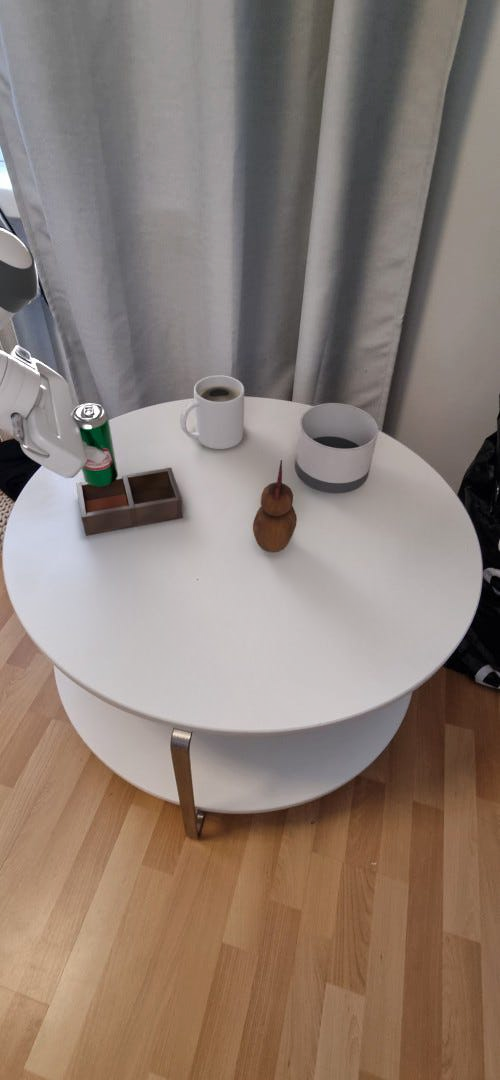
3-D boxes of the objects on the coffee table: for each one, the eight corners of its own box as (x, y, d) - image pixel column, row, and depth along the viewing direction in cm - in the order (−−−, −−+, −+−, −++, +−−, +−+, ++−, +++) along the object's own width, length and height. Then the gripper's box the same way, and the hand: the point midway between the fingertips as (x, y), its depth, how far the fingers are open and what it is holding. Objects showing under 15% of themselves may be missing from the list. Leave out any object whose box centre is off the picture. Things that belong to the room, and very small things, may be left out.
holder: (85, 536, 91) (81, 517, 88) (80, 501, 96) (76, 482, 93) (183, 518, 94) (181, 499, 91) (172, 485, 100) (171, 467, 97)
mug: (245, 423, 113) (247, 377, 105) (239, 453, 106) (241, 407, 99) (189, 418, 113) (187, 371, 106) (180, 448, 107) (177, 401, 99)
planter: (381, 487, 101) (394, 438, 94) (317, 507, 97) (325, 458, 89) (342, 444, 109) (351, 396, 101) (281, 462, 105) (285, 413, 97)
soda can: (84, 491, 87) (69, 424, 78) (84, 469, 90) (69, 403, 82) (119, 487, 88) (107, 421, 79) (117, 466, 91) (106, 400, 82)
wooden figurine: (267, 522, 94) (273, 448, 83) (299, 537, 92) (309, 462, 81) (245, 549, 90) (248, 474, 79) (278, 564, 88) (286, 490, 77)
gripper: (30, 424, 67) (125, 473, 77) (18, 339, 80) (100, 390, 90) (0, 462, 69) (96, 505, 79) (-7, 372, 82) (76, 419, 92)
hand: (98, 443), depth 84 cm, fingers closed on soda can, 5 cm apart
